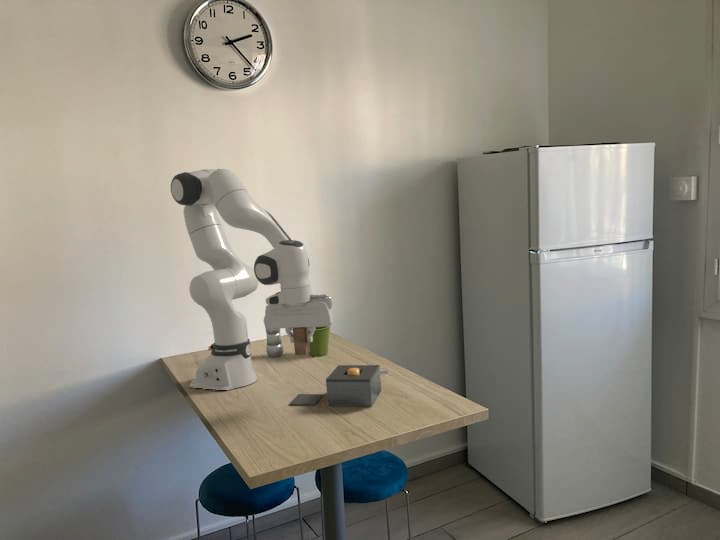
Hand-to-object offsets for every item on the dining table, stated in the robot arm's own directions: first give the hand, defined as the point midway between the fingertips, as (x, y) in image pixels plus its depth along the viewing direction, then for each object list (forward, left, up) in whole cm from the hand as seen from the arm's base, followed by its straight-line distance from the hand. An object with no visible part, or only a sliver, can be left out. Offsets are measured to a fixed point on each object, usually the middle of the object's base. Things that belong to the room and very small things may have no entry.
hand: (301, 341), depth 167 cm
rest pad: (0, 0, -18) cm, 18 cm away
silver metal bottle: (-29, +46, -18) cm, 58 cm away
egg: (+14, +3, -15) cm, 21 cm away
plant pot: (-12, +48, -18) cm, 53 cm away
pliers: (+12, +23, -19) cm, 32 cm away
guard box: (+14, +3, -18) cm, 23 cm away
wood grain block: (0, 0, -4) cm, 4 cm away
